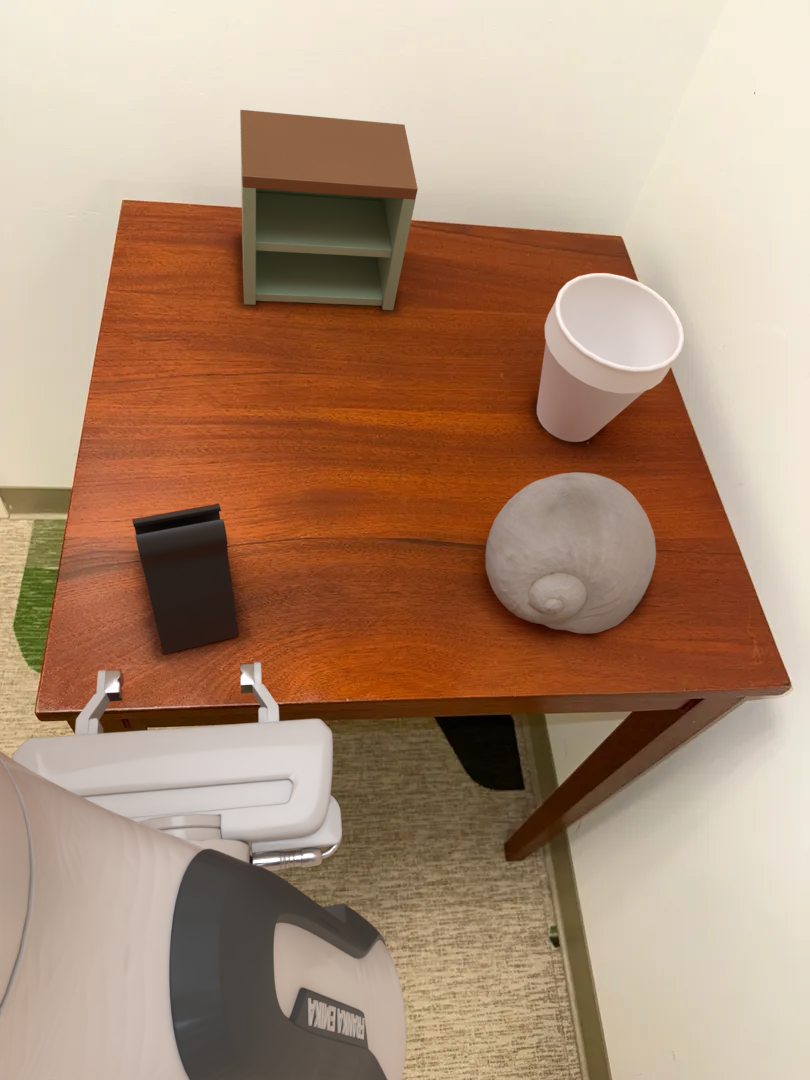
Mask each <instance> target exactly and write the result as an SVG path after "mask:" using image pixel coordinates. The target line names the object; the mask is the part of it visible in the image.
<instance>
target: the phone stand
mask: <svg viewBox="0 0 810 1080" xmlns="http://www.w3.org/2000/svg"><path fill="white" fill-rule="evenodd" d="M220 512H222V509H221V504H220V503H214V504H208V505H203V506H197V507H191V508H185V509H180V510H175V511H170V512H163V513H159V514H152V515H146V516H142V517H136V518H132V519H131V521H132V526H133V528H134V531H135V536H134V537H135V541H136V545H137V550H138V554H139V558H140V562H141V566H142V571H143V574H144V577H145V583H146V586H147V587H146V588H147V591H148V596H149V599H150V604H151V609H152V612H153V617H154V622H155V626H156V630H157V633H158V638H159V639H158V640H159V643H160V647H161V651H162V654H169V653H174V652H179V651H181V650H185V649H191V648H194V647H199V646H203V645H207V644H208V645H209V644H212V643H216V642H221V641H224V640H229V639H232V638H238V637H239V636H240V635H239V628H238V620H237V612H236V603H235V598H234V589H233V582H232V576H231V566H230V560H229V559H230V558H229V551H228V535H227V530H226V525H225V519H224V518H221V515H220Z"/></svg>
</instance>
